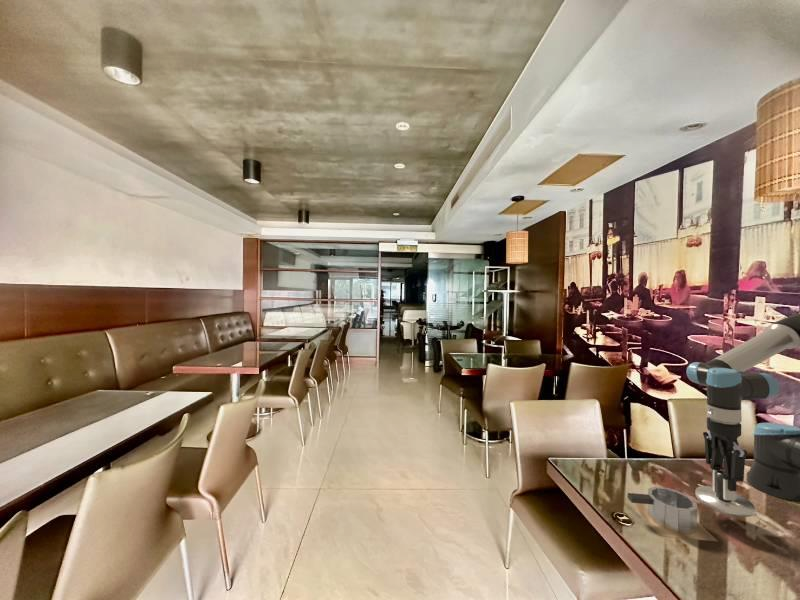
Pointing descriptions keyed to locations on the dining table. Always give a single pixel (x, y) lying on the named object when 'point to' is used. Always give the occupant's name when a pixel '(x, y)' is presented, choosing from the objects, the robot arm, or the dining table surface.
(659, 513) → the pot
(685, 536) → the trivet
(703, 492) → the lid
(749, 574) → the dining table surface
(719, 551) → the dining table surface
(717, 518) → the dining table surface
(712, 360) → the robot arm
